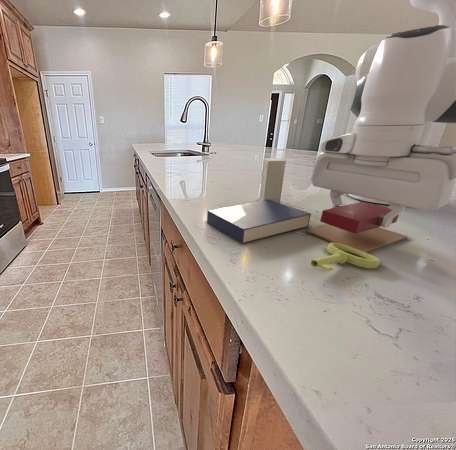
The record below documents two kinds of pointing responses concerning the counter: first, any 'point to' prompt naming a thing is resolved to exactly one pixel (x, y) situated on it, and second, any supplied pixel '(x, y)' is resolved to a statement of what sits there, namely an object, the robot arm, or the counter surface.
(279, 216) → the hardback
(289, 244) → the counter surface
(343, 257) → the key
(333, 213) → the red rectangular block
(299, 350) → the counter surface
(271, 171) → the cosmetic box
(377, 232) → the cork mat
